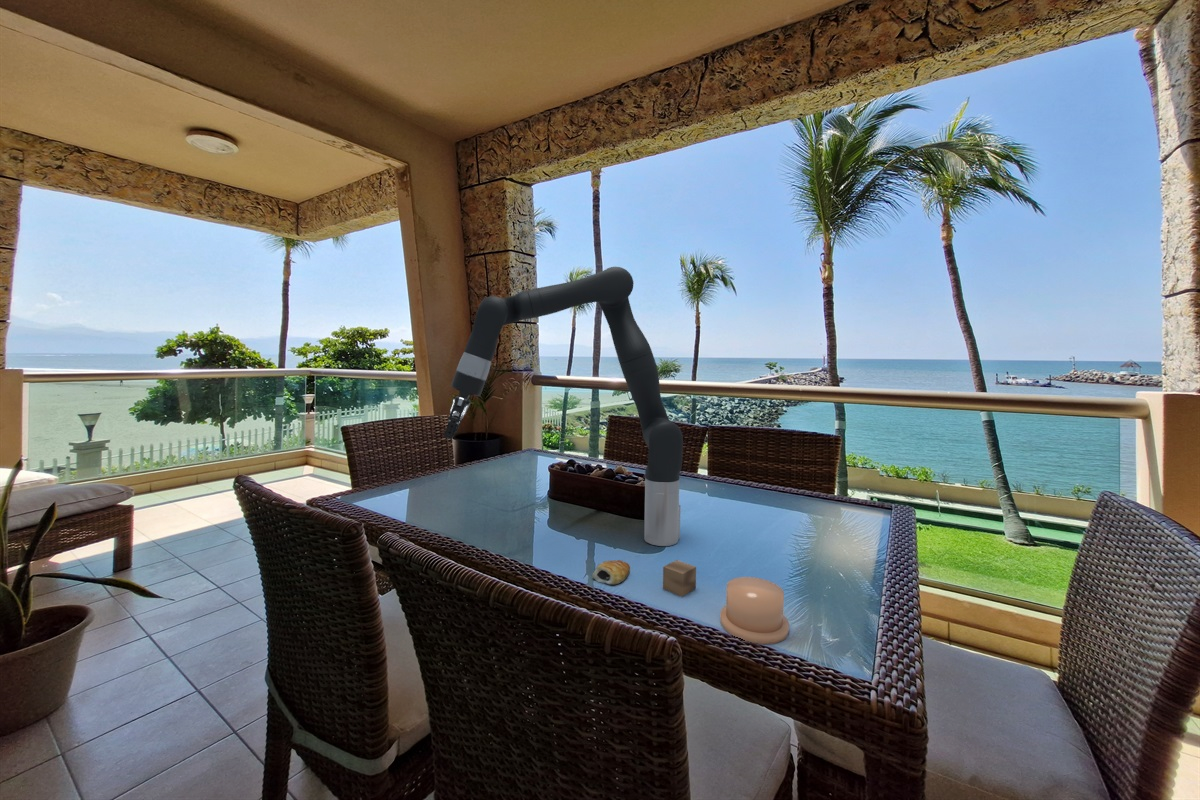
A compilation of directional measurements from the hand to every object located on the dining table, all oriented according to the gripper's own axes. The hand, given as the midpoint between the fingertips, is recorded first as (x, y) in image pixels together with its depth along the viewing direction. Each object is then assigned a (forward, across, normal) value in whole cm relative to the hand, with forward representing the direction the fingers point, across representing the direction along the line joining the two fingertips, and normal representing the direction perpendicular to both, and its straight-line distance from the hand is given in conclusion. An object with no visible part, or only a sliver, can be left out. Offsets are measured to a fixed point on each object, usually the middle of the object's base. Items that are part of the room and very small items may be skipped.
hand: (450, 434), depth 118 cm
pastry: (+16, -22, -45) cm, 52 cm away
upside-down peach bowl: (+9, -46, -65) cm, 80 cm away
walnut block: (+12, -30, -57) cm, 65 cm away
